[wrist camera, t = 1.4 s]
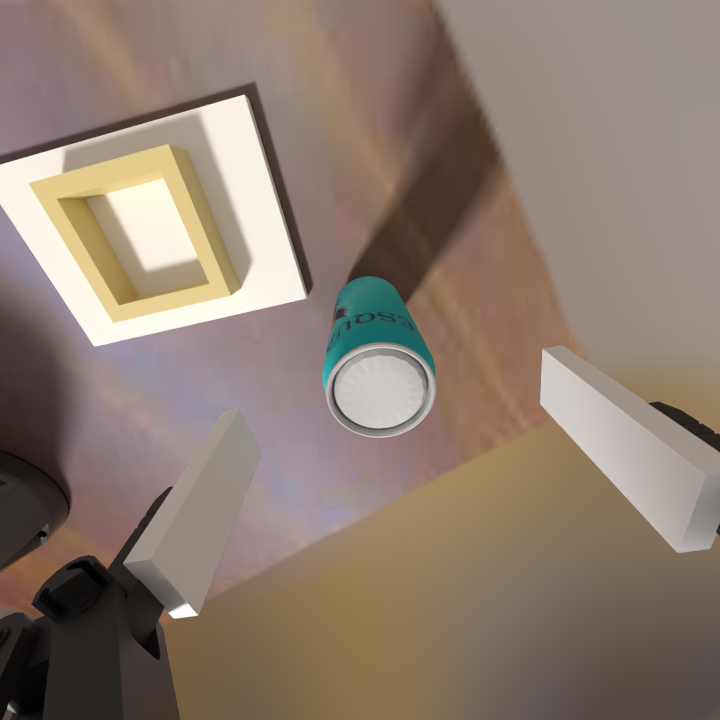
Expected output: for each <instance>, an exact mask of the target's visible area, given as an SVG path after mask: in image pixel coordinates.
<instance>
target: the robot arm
mask: <svg viewBox="0 0 720 720" xmlns="http://www.w3.org/2000/svg"><path fill="white" fill-rule="evenodd" d="M540 404H541V405H542V406H543V407H544V409H545V410H546V411H547V412H548V413H549V414H550V415H551V416H552V417H553V418H554V419H555V421H556V422H557V423H558V424H559V425H560V426H561V427H562V428H563V429H564V430H565V431H566V432H567V433H568V435H569V436H571V438H572V439H573V440H574V441H575V442H576V443H577V444H578V445H579V447H580V448H581V449H582V450H583V451H584V452H585V453H586V454H587V455H588V456H589V457H590V458H591V460H592V461H593V462H594V463H595V464H596V465H597V466H598V467H599V468H600V469H601V470H602V472H603V473H604V474H605V475H606V476H607V477H608V478H609V479H610V480H611V481H612V482H613V483H614V485H615V486H616V487H617V488H618V489H619V490H620V491H621V492H622V493H623V494H624V495H625V496H626V498H627V499H628V500H629V501H630V502H631V503H632V504H633V505H634V506H635V507H636V508H637V509H638V511H639V512H640V513H641V514H642V515H643V516H644V517H645V518H646V519H647V520H648V521H649V522H650V524H651V525H652V526H653V527H654V528H655V529H656V530H657V531H658V532H659V533H660V534H661V536H662V537H663V538H664V539H665V540H666V541H667V542H668V543H669V544H670V545H671V546H672V547H673V549H674V550H675V551H676V552H677V553H681V552H689V551H695V550H704V549H710V548H711V546H712V543H713V541H714V539H715V537H716V534H717V533H718V534H719V535H720V435H719V434H715V433H714V431H713V430H711V429H710V428H708V427H707V426H705V425H703V424H699V422H698V421H697V420H696V419H694V418H692V417H691V416H689V415H688V414H686V413H685V412H683V411H681V410H679V409H677V408H674V407H671V406H669V405H666V404H663V403H661V402H653V403H646V402H645V401H643V400H642V399H641V398H639V397H637V396H636V395H635V394H633V393H632V392H630V391H629V390H627V389H626V388H624V387H623V386H621V385H620V384H618V383H617V382H616V381H614V380H613V379H611V378H610V377H608V376H607V375H605V374H604V373H602V372H601V371H599V370H598V369H596V368H595V367H594V366H592V365H591V364H589V363H588V362H586V361H585V360H583V359H582V358H580V357H579V356H577V355H576V354H574V353H573V352H571V351H570V350H569V349H567V348H566V347H564V346H563V345H560V346H555V347H550V348H545V349H543V351H542V374H541V397H540ZM260 456H261V451H260V449H259V447H258V445H257V443H256V441H255V439H254V437H253V435H252V433H251V431H250V428H249V426H248V424H247V422H246V420H245V418H244V416H243V414H242V412H241V410H240V408H236V409H230V410H225V411H223V412H222V414H221V415H220V417H219V418H218V420H217V421H216V423H215V425H214V426H213V428H212V429H211V431H210V432H209V434H208V435H207V437H206V438H205V440H204V441H203V443H202V444H201V446H200V447H199V449H198V450H197V452H196V453H195V455H194V456H193V458H192V459H191V461H190V462H189V464H188V465H187V467H186V468H185V470H184V471H183V473H182V475H181V476H180V478H179V479H178V481H177V482H176V484H175V485H174V486H173V487H169V488H167V489H166V490H165V491H164V492H163V493H162V494H161V495H160V496H159V497H158V498H157V499H156V500H155V501H154V503H153V504H152V506H151V507H150V509H149V510H148V511H147V513H146V516H145V517H143V519H142V520H141V522H140V523H139V524H138V528H136V529H135V530H134V532H133V533H132V535H131V536H130V537H129V539H128V540H127V542H126V543H125V545H124V546H123V548H122V549H121V550H120V552H119V553H118V555H117V556H116V558H115V559H114V561H113V562H112V564H111V565H110V566H109V568H108V569H106V568H105V567H104V566H103V565H102V564H101V563H100V562H99V561H98V560H97V558H96V557H95V556H90V555H87V556H83V557H79V558H77V559H75V560H73V561H71V562H69V563H67V564H66V565H65V566H63V567H62V568H61V569H59V570H58V571H56V572H55V573H54V574H53V575H52V576H51V577H50V578H49V579H48V580H47V581H46V582H45V583H44V584H43V585H42V587H41V588H40V589H39V591H38V592H37V593H36V595H35V597H34V600H33V602H32V604H31V605H33V606H34V607H35V608H37V609H38V610H39V611H40V612H42V613H43V614H44V615H45V616H43V617H40V618H38V619H36V620H34V621H33V620H32V619H31V618H29V617H28V616H27V615H25V614H24V613H17V612H16V613H13V614H11V615H8V616H6V617H4V618H2V619H0V720H2V719H3V716H4V714H5V712H6V709H9V710H10V711H12V712H13V714H12V717H11V719H10V720H180V716H179V711H178V706H177V701H176V695H175V690H174V685H173V680H172V675H171V669H170V664H169V658H168V653H167V648H166V642H165V637H164V632H163V628H162V626H161V624H160V623H159V622H158V620H159V618H160V616H161V614H162V611H163V609H164V608H165V609H166V610H167V611H168V613H169V614H170V615H171V616H172V617H173V618H181V617H189V616H197V615H198V614H199V612H200V609H201V607H202V604H203V602H204V599H205V597H206V594H207V591H208V589H209V586H210V584H211V581H212V579H213V576H214V574H215V571H216V568H217V566H218V563H219V561H220V558H221V556H222V553H223V551H224V548H225V546H226V543H227V540H228V538H229V535H230V533H231V530H232V528H233V525H234V523H235V520H236V517H237V515H238V512H239V510H240V507H241V505H242V502H243V500H244V497H245V494H246V492H247V489H248V487H249V484H250V482H251V479H252V477H253V474H254V472H255V469H256V466H257V464H258V461H259V459H260ZM67 515H68V505H67V502H66V499H65V497H64V495H63V493H62V492H61V490H60V489H59V488H58V487H57V485H56V484H55V483H54V482H53V481H52V480H51V479H50V478H48V477H47V476H46V475H45V474H43V473H42V472H41V471H39V470H38V469H36V468H35V467H33V466H31V465H30V464H28V463H26V462H24V461H22V460H20V459H18V458H16V457H13V456H11V455H8V454H5V453H2V452H0V573H1V572H2V571H4V570H5V569H7V568H8V567H10V566H11V565H13V564H14V563H16V562H17V561H19V560H20V559H22V558H23V557H25V556H26V555H28V554H29V553H31V552H32V551H33V550H35V549H36V548H38V547H39V546H41V545H42V544H44V543H45V542H46V541H47V540H48V539H50V537H51V536H52V535H53V534H54V533H55V532H56V531H57V530H58V529H59V528H60V527H61V526H62V524H63V523H64V522H65V520H66V518H67Z"/></svg>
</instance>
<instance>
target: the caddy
mask: <svg viewBox="0 0 720 720" xmlns="http://www.w3.org/2000/svg"><path fill="white" fill-rule="evenodd" d="M0 204H1V206H2V207H3V209H4V210H5V212H6V213H7V215H8V216H9V218H10V219H11V221H12V222H13V224H14V225H15V227H16V229H17V230H18V232H19V233H20V235H21V236H22V238H23V239H24V241H25V242H26V244H27V245H28V247H29V248H30V250H31V251H32V253H33V254H34V256H35V257H36V259H37V260H38V262H39V263H40V265H41V266H42V268H43V269H44V271H45V272H46V274H47V276H48V277H49V279H50V280H51V282H52V283H53V285H54V286H55V288H56V289H57V291H58V292H59V294H60V295H61V297H62V298H63V300H64V301H65V303H66V304H67V306H68V307H69V309H70V310H71V312H72V313H73V315H74V316H75V318H76V320H77V321H78V323H79V324H80V326H81V327H82V329H83V330H84V332H85V333H86V335H87V336H88V338H89V339H90V341H91V342H92V344H93V345H94V347H95V346H99V345H104V344H108V343H112V342H117V341H121V340H126V339H130V338H134V337H139V336H143V335H148V334H152V333H156V332H161V331H165V330H170V329H174V328H179V327H183V326H187V325H192V324H196V323H201V322H205V321H209V320H214V319H218V318H223V317H227V316H231V315H236V314H240V313H245V312H249V311H253V310H258V309H262V308H267V307H271V306H275V305H280V304H284V303H289V302H293V301H297V300H302V299H306V298H307V296H308V294H307V290H306V287H305V284H304V280H303V277H302V274H301V270H300V267H299V264H298V260H297V257H296V254H295V251H294V247H293V244H292V241H291V237H290V234H289V231H288V227H287V224H286V221H285V217H284V214H283V211H282V207H281V204H280V201H279V197H278V194H277V191H276V187H275V184H274V181H273V177H272V174H271V171H270V167H269V164H268V161H267V157H266V154H265V151H264V147H263V144H262V141H261V137H260V134H259V131H258V127H257V124H256V121H255V117H254V114H253V111H252V107H251V104H250V101H249V99H248V98H247V97H246V96H245V95H241V96H238V97H234V98H231V99H227V100H224V101H220V102H217V103H213V104H210V105H206V106H203V107H199V108H196V109H192V110H189V111H185V112H182V113H178V114H175V115H171V116H168V117H164V118H161V119H157V120H154V121H151V122H147V123H144V124H140V125H137V126H133V127H130V128H126V129H123V130H119V131H116V132H112V133H109V134H105V135H102V136H98V137H95V138H91V139H88V140H84V141H81V142H77V143H74V144H70V145H67V146H63V147H60V148H56V149H53V150H49V151H46V152H42V153H39V154H35V155H32V156H28V157H25V158H21V159H18V160H15V161H11V162H8V163H4V164H1V165H0Z"/></svg>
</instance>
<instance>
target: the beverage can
mask: <svg viewBox="0 0 720 720" xmlns="http://www.w3.org/2000/svg"><path fill="white" fill-rule="evenodd" d="M322 379H323V386H324V390H325V393H326V398H327V402H328V406H329V408H330V410H331V413H332V414H333V416H334V417H335V418H336V420H337V421H338V422H339V423H340V424H341V425H343V426H344V427H345V428H347V429H349V430H350V431H352V432H354V433H357V434H359V435H363V436H367V437H375V438H380V437H391V436H395V435H399V434H401V433H404V432H406V431H408V430H410V429H412V428H413V427H415V426H416V425H417V424H419V423H420V422H421V421H422V420H423V419H424V418H425V417H426V415H427V414H428V412H429V411H430V409H431V407H432V405H433V402H434V399H435V393H436V383H435V366H434V362H433V358H432V356H431V354H430V352H429V350H428V348H427V346H426V344H425V342H424V340H423V338H422V336H421V335H420V333H419V331H418V329H417V327H416V325H415V323H414V321H413V319H412V317H411V316H410V314H409V312H408V310H407V308H406V306H405V304H404V302H403V300H402V298H401V297H400V295H399V293H398V291H397V290H396V288H395V287H394V286H393V285H392V284H390V283H389V282H388V281H386V280H384V279H382V278H379V277H374V276H365V277H360V278H357V279H355V280H353V281H351V282H349V283H348V284H347V285H346V286H345V287H344V288H343V289H342V290H341V292H340V293H339V295H338V297H337V300H336V303H335V309H334V314H333V319H332V324H331V330H330V335H329V340H328V345H327V351H326V356H325V361H324V366H323V374H322Z"/></svg>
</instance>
